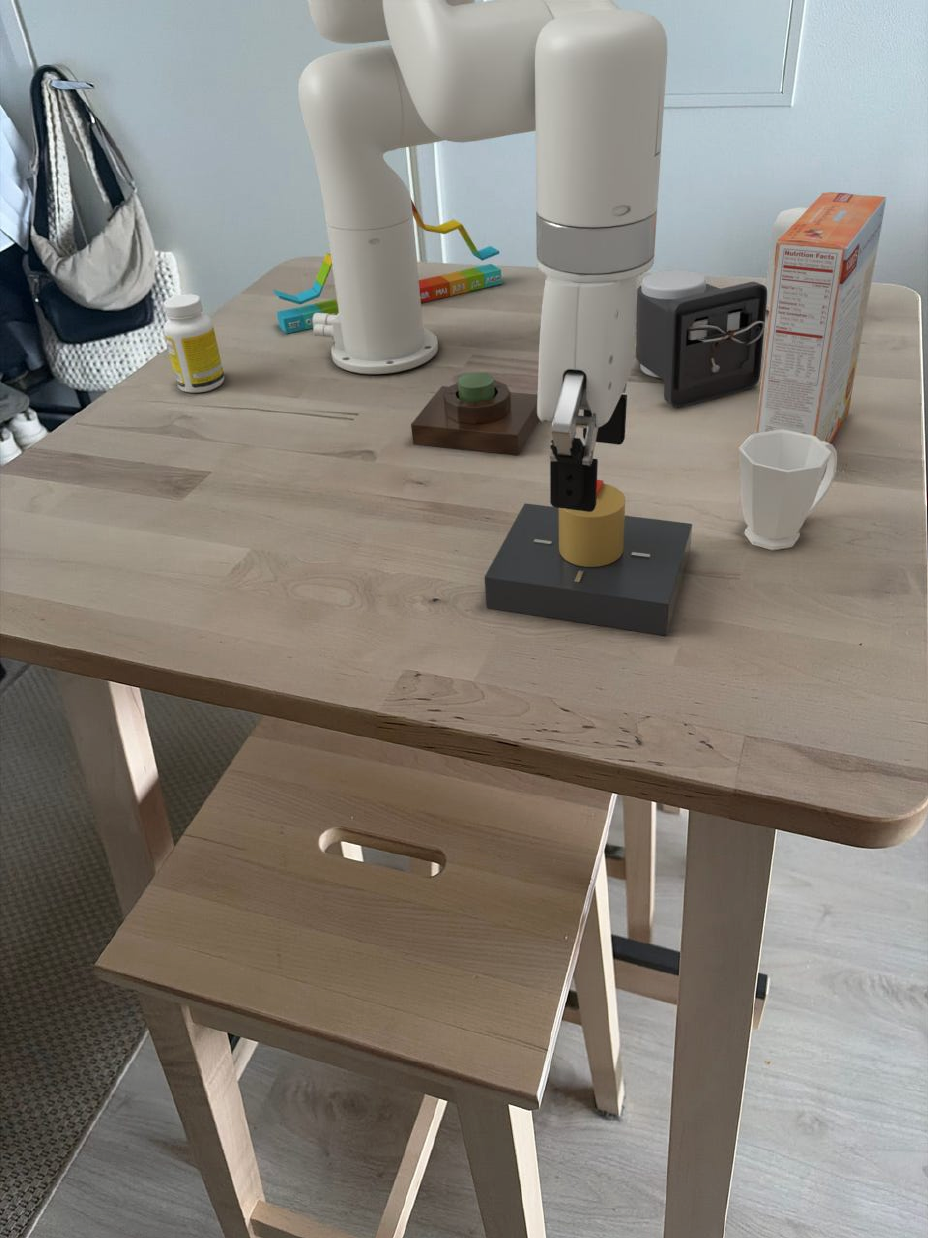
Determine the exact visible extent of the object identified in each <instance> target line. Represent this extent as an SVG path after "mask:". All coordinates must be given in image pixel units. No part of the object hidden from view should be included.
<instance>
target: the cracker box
mask: <svg viewBox="0 0 928 1238" xmlns="http://www.w3.org/2000/svg"><path fill="white" fill-rule="evenodd" d="M886 202H887V197H886V196H880V195H863V194H853V193H847V192H835V191H834V192H832V191H830V192H821V193H820V195H819V196H818V197H817V198H816V199H815V200H814V201H813V203H812V204H811V205H810V206H809V208H808V209H807V210H806V211H805V212H804V213H803V215H802V216H801V217H800V218H799V219H798V220H797V221H796V222H795V223H794V224H793V225H792V226H791V227H790V228H789V230H788V231H787V232H786V233H785V234H784V235H783V236H782V237H781V238H780V239H779V240H778V241H777V244H776V253H775V264H774V273H773V280H772V289H771V299H770V309H769V311H768V318H767V328H766V336H765V342H764V344H765V345H764V352H763V361H762V362H763V363H762V368H761V369H762V370H761V377H760V378H761V379H760V387H759V397H758V404H757V414H756V422H755V433H761V432H768V431H774V430H781V429H784V430H788V431H793V432H798V433H802V434H807V435H812V436H816V437H817V438H818V439H819V440H820V441H825V442H827V443H829V444H831V445H832V442H833V440H834V439H835V437H836V435H837V434H838V431H839V430H840V428H841V426H842V425H843V423H844V421H845V419H846V417H847V416H848V414H849V410H850V407H851V400H852V394H853V388H854V383H855V379H856V372H857V366H858V361H859V354H860V349H861V344H862V338H863V332H864V326H865V321H866V314H867V310H868V303H869V299H870V293H871V286H872V281H873V275H874V272H875V271H874V270H875V264H876V259H877V254H878V248H879V242H880V236H881V231H882V225H883V220H884V214H885V208H886ZM755 433H754V434H755Z"/></svg>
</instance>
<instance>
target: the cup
mask: <svg viewBox="0 0 928 1238" xmlns="http://www.w3.org/2000/svg"><path fill="white" fill-rule="evenodd" d="M738 464H739V467H738V468H739V481H740V482H739V483H740V485H739V487H740V502H741V508H742V513H743V519H744V523H745V524H746V525H747V527H746V528H745V530H744V536H745V537H746V538H747V539H748V541H749V542H750V543H751V545H752V546H756V547H759V548H763V549H767V550H771V551H777V550H783V549H789V548H793V547H794V545H795V544H796V542H797V541H798V540H799V538H800V534H801V532H800V529H801V528H802V527H803V525H804V523H805V521H806V519H807V518H808V517H809V516H810V515H811V514H812V512H813V511H814V510H815V509H816V508H817V507H818V505H819V504H820V503H821V502H822V500H824V498H825V496H826V495H827V493H828V492H829V490H830V488H831V487H832V484H833V482H834V480H835V477H836V474H837V467H838V466H837V465H838V453H837V450H836V448H835V446H834V445H833V444H832V443H831V444H829V443H827V442H825V441H820V440H819V439H818V438H817V437H816V436H812V435H807V434H802V433H798V432H793V431H788V430H784V429H781V430H774V431H768V432H761V433H751V434H750V435H749V436H748V437H747V438H746V439H745V440H744V442H742V444H741V445H740V446H739V447H738Z"/></svg>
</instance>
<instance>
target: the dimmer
mask: <svg viewBox="0 0 928 1238" xmlns="http://www.w3.org/2000/svg"><path fill="white" fill-rule="evenodd" d="M625 516H626V496H625V494H624V493H623V492H622V491H621V490H620V489H619V488H617V487H615V486H613V485H610V484H607V483H604V480H603V479H597V497H596V506H595V509H594V510H593V511H592V512H587V511H579V510H572V509H564V508H559V552H560V554H561V556H562V557H563V558H564V559H565V560H567V561H568V562H570V563H572V564H575V565H578V566H584V567H599V566H604V565H608V564H610V563H613V562H614V561H616V560H617V559H619V558H620V556H621V555H622V553H623V547H624V523H625Z"/></svg>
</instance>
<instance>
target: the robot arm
mask: <svg viewBox="0 0 928 1238" xmlns="http://www.w3.org/2000/svg"><path fill="white" fill-rule="evenodd" d="M307 5H308V10H309V14H310V17H311V21H312V24H313V25H314V28H315V29H316V30H317V32H318V33H319V34H320V36H322V38H324V39H326V40H328V41H330V42H332V43H335V44H343V45H344V44H345V45H349V44H350V45H351V44H352V45H356V44H357V45H358V44H368V43H369V44H370V43H375V42H385V41H389V43H390V44H385V45H380V44H378V45H372V46H364V47H357V48H350V49H344V50H338V51H334V52H329V53H326V54H324V55H321V56H319V57H317V58H315V59H313V60H312V61H311V62H310V63H309V64H308V65H307V66H305V67H304V69H303V71H302V73H301V75H300V77H299V80H298V87H297V96H298V105H299V108H300V112H301V117H302V120H303V124H304V127H305V131H306V134H307V138H308V140H309V145H310V149H311V152H312V154H313V155H312V156H313V159H314V164H315V167H316V173H317V178H318V183H319V187H320V194H321V200H322V206H323V213H324V220H325V226H326V232H327V233H326V234H327V240H328V245H329V254H331V261H332V267H331V269H332V275H333V282H334V288H335V296H336V299H337V303H338V310H339V313H338V314H337V315H331V314H327V313H315V314H314V316H313V327H314V328H312V330H313V334H314V336H316V337H331V338H332V340H334V343H333V344H332V346H331V349H330V352H331V359H332V362H333V364H335V365H336V366H337V367H339V368H341V369H342V370H345V371H348V372H350V373H356V374H361V375H362V374H363V375H386V374H387V375H388V374H395V373H401V372H405V371H408V370H412V369H414V368H417V367H419V366H420V367H421V365H424V364H425V363H427V362H429V361H430V360H432V359H433V358H434V357H435V356H436V355H437V352H438V349H439V343H438V338H437V336H436V335H435V333H433V331H430V330H429V329H427V328H426V327H425V328H424V323H423V314H422V312H423V311H422V303H421V300H420V289H419V280H420V279H419V269H418V268H419V267H418V258H417V248H416V247H417V246H416V236H415V235H416V234H415V225H414V224H415V223H414V217H413V213H412V203H411V199H412V197H411V194H410V192H409V189H408V186H407V185H406V183H405V182H404V180H403V179H402V178H401V176H400V175H399V174H398V173H397V172H396V171H395V170H394V169H393V168H392V167H390V165H388V163H387V162H386V161H385V159H384V155H385V153H387V152H388V153H389V152H393V151H396V150H397V149H404V148H410V147H418V146H423V145H428V144H434V143H439V142H443V141H444V142H445V141H447V142H452V143H463V144H464V143H470V142H478V141H479V142H480V141H485V140H489V139H490V140H491V139H496V138H501V137H506V136H512V135H519V134H525V133H531V132H535V204H536V205H535V207H536V208H535V211H536V213H535V225H536V227H535V228H536V231H535V233H536V234H535V236H536V266H537V269H538V270H539V271H540V272H541V273H543V274H545V275H546V276H545V283H544V289H543V296H542V303H541V304H542V305H541V315H540V327H539V328H540V330H539V344H538V345H539V347H538V370H537V371H538V372H537V394H538V397H537V415H538V417H539V421H541V422H542V423H547V422H551V430H550V431H551V432H550V433H551V437H552V439H551V440H550V443H551V444H550V445H549V448H550V452H549V461H550V463H549V476H550V478H549V488H550V489H549V493H550V494H549V496H550V497H549V500H550V502H549V503H550V505H551V507H557V508H564V509H572V510H579V511H587V512H592V511H593V510H594V509H595V506H596V497H597V480H598V466H599V465H598V462H599V459H598V458H594V455H595V448H596V443H602V444H609V445H610V444H611V445H619V446H621V445H622V444H623V443H624V441H625V439H626V427H627V425H626V424H627V408H628V407H627V405H628V404H627V403H628V394H625V393H626V390H627V384H628V381H629V378H630V376H631V372H632V368H633V361H634V355H635V345H636V314H637V289H638V278H639V277H640V276H641V275H642V274H644V273H647V272H648V271H650V270H651V269H652V267H653V265H654V264H655V251H656V250H655V249H656V233H657V221H658V220H657V219H658V202H659V189H660V188H659V187H660V173H661V171H660V170H661V157H662V139H663V127H664V125H663V124H664V112H665V111H664V110H665V109H664V108H665V96H666V81H667V69H668V50H669V49H668V38H667V33H666V30H665V28H664V26H663V24H662V22H661V21H660V20H659V19H658V18H657V17H655V16H654V15H651V14H649V13H646V12H643V11H637V10H629V9H628V10H627V9H622V8H621V7H620V6H618V4H616V3H615V2H614V1H613V0H485V1H484V0H483V1H478V2H476V0H307ZM580 410H583V412H582V413H583V415H579V413H580ZM577 428H578V429H582V438H583V440H584V443H583V442H582V439H581V438H579V437H576V435H577V430H576V429H577Z"/></svg>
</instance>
